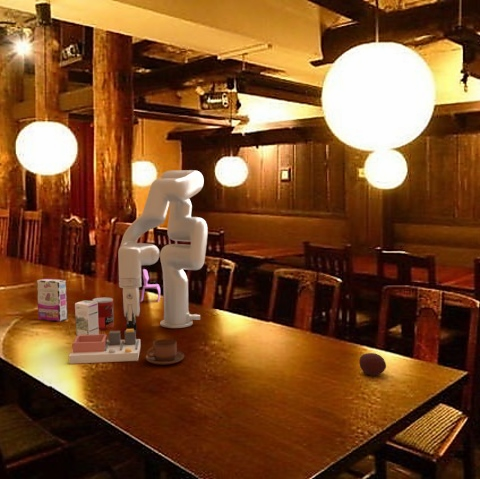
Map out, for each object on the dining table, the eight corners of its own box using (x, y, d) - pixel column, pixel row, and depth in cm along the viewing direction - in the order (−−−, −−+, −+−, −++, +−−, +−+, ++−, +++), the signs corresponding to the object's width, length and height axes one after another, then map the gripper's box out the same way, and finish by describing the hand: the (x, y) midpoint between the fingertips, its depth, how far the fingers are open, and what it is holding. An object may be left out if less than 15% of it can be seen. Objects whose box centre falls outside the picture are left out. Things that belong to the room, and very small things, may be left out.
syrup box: (99, 341, 204) (98, 301, 203) (88, 345, 199) (87, 304, 197) (86, 339, 206) (85, 299, 205) (75, 344, 201) (74, 302, 200)
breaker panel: (140, 346, 198) (140, 330, 197) (137, 360, 182) (137, 343, 181) (77, 348, 195) (76, 332, 195) (69, 363, 180) (68, 346, 179)
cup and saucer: (167, 370, 173) (167, 350, 173) (137, 363, 180) (137, 344, 179) (192, 359, 183) (191, 340, 183) (162, 353, 190) (162, 335, 189)
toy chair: (158, 302, 268) (157, 270, 267) (139, 302, 268) (138, 270, 267) (161, 298, 276) (160, 267, 275) (142, 299, 276) (142, 267, 275)
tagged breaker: (135, 341, 194) (135, 328, 193) (135, 344, 191) (134, 330, 190) (125, 342, 194) (125, 328, 193) (124, 344, 191) (124, 331, 190)
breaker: (120, 342, 193) (120, 330, 193) (119, 344, 190) (119, 332, 190) (110, 342, 193) (109, 331, 193) (109, 345, 190) (108, 333, 190)
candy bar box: (68, 319, 237) (66, 279, 235) (60, 322, 232) (58, 281, 231) (46, 317, 241) (44, 278, 240) (37, 319, 237) (36, 280, 235)
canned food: (109, 330, 219) (108, 301, 218) (89, 329, 221) (88, 301, 220) (117, 325, 227) (116, 297, 225) (98, 324, 228) (97, 297, 227)
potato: (381, 369, 173) (381, 349, 172) (389, 378, 164) (389, 357, 164) (356, 369, 172) (357, 349, 172) (363, 379, 164) (364, 358, 163)
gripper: (140, 285, 191) (141, 340, 193) (142, 278, 206) (143, 328, 208) (117, 286, 190) (118, 341, 192) (121, 278, 205) (122, 329, 207)
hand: (131, 334), depth 200 cm, fingers closed
